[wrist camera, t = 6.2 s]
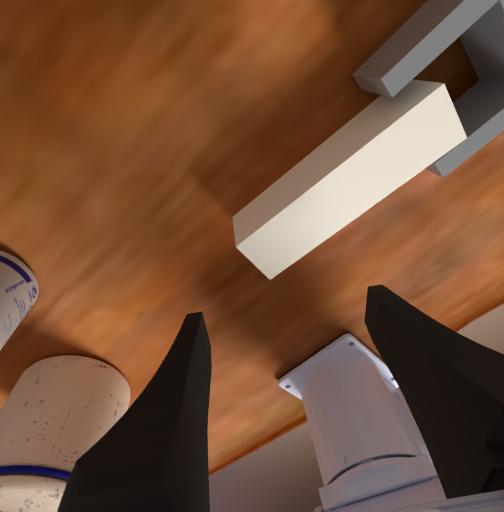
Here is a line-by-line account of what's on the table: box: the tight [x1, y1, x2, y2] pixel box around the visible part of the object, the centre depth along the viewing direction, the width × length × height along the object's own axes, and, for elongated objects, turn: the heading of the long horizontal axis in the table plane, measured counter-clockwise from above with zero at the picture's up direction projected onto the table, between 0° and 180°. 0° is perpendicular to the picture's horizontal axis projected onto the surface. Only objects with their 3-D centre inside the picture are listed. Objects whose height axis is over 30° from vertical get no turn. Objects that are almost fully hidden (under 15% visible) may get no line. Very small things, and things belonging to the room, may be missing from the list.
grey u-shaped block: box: [352, 0, 504, 178], centre depth 16 cm, size 6×6×4 cm
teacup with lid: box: [0, 355, 130, 512], centre depth 23 cm, size 12×9×12 cm
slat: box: [232, 79, 467, 280], centre depth 18 cm, size 3×12×4 cm, turn 129°
